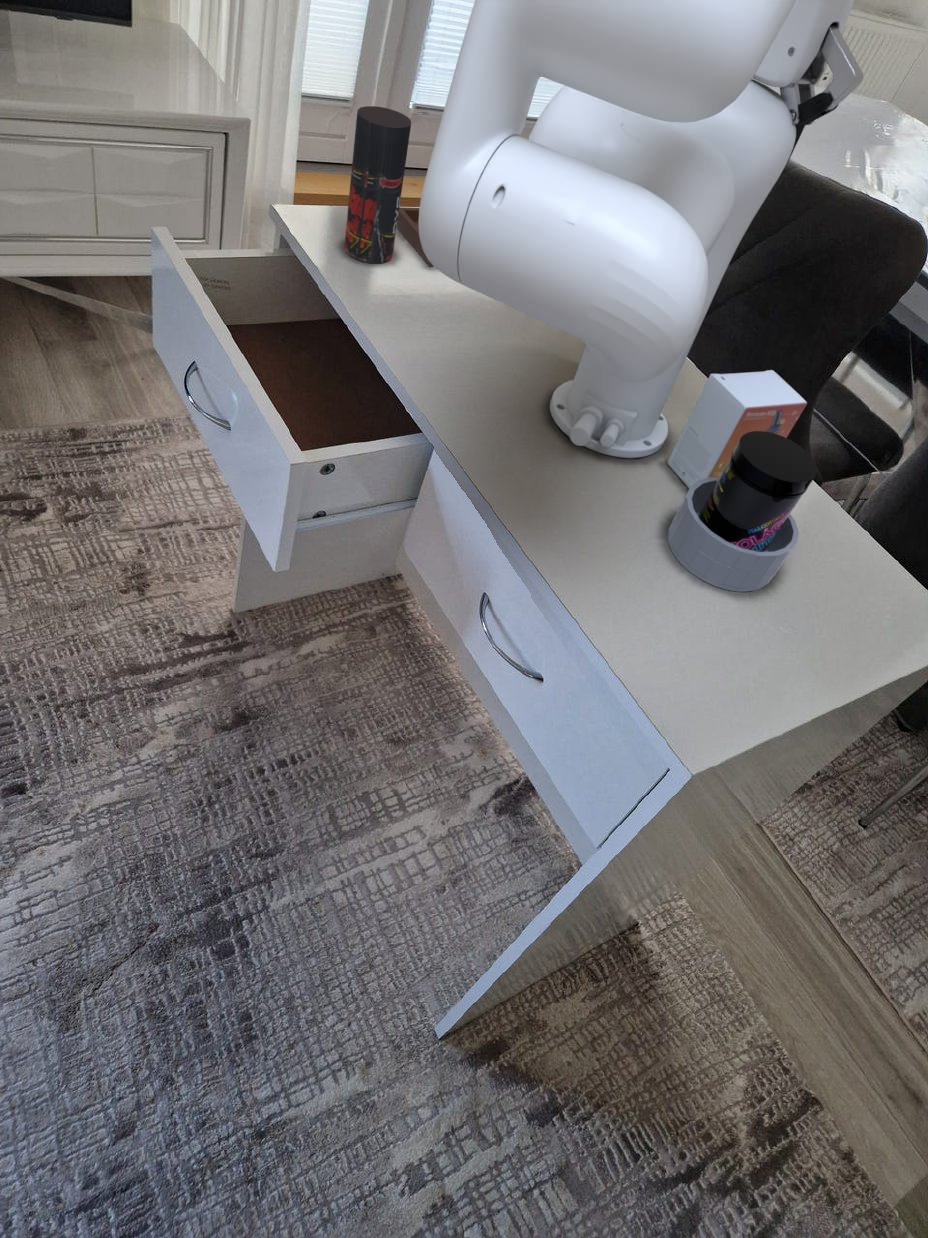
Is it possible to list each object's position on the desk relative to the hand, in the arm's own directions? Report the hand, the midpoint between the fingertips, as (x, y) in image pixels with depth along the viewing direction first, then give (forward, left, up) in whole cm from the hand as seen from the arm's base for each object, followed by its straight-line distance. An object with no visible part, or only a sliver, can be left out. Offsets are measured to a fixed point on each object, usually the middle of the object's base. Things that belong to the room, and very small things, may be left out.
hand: (720, 150), depth 68 cm
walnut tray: (+24, +28, -26) cm, 45 cm away
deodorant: (+12, +36, -26) cm, 46 cm away
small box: (-5, -12, -26) cm, 29 cm away
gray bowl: (-16, -15, -26) cm, 34 cm away
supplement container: (-16, -15, -26) cm, 34 cm away
